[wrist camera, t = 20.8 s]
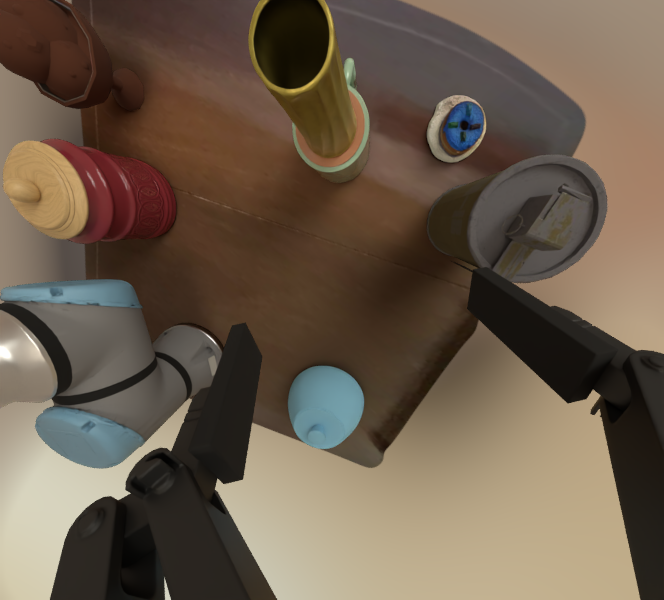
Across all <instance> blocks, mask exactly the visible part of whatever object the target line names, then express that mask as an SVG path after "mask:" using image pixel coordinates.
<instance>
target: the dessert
mask: <svg viewBox="0 0 664 600" xmlns="http://www.w3.org/2000/svg"><path fill="white" fill-rule="evenodd" d="M485 130H486V119H485V114H484V111H483V109H482V107H481V106H480V105H479V104H478V103H477V102H476V101H475V100H473V99H471V98H470V97H467V96H462V95H454V96H451V97H448V98H446V99H445V100H443V101H441V102H440V103H439V104H438V105H437V106H436V109H435V113H434V116H433V117H432V119H431V121H430V123H429V125H428V130H427V140H428V143H429V145H430V148H431V150H432V153H433V154H434V156H435V157H436V158H438V159H440V160H442V161H444V162H449V163H450V162H451V163H452V162H458V161H460V160H462V159H464V158H466V157H468V156H469V155H470V154H471V153H472V152H473V151H474V150H475V149H476V148H477V147H478V146H479V144H480V143H481V141H482V139H483V136H484V134H485Z"/></svg>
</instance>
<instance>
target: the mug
mask: <svg viewBox="0 0 664 600" xmlns="http://www.w3.org/2000/svg"><path fill="white" fill-rule="evenodd" d="M343 69H344V74H345V78H346V82H347V87H348V91H349V96H350V100H351V104H352V107H353V110H354V113H355V116H356V122H357V127H356V134H355V137H354V140H353V142H352V144H351V145H350V147H349V148H348V149H347V150H346V151H345V152H344V153H342V154H341V155H339V156H336V157H332V158H323V157H320V156H318V155H317V154H315V153H314V152H313V151H311V149H310V148H309V146H308V145H307V143H306V142H305V139H304V137H303V136H302V134H301V133H300V132H299V130H298V129H297V127H296V126H295V124H294V123H293V129H292V131H293V139H294V143H295V146H296V149H297V151H298V153H299V155H300V156H301V158H302V159H303V160H304V161H305V162H306V163H307V164H308V165H309V166H310V167H311V168H313V169H314V170H315V171H316V172H317V173H318V174H319V175H321V176H322V177H323V178H324V179H326V180H328V181H331V182H335V183H343V182H347V181H349V180H351V179H353V178H355V177H356V176H357V175H358V174H359V173H360V172H361V171H362V170H363V168H364V167H365V165H366V163H367V160H368V157H369V152H370V130H369V115H368V111H367V107H366V105H365V102H364V101H363V99H362V97H361V96H360V94H359V93H358V92H357V91H356V88H357V83H356V73H355V65H354V61H353V59H352V58H347V59H346V60H345V62H344V66H343Z"/></svg>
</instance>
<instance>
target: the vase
mask: <svg viewBox="0 0 664 600" xmlns="http://www.w3.org/2000/svg"><path fill="white" fill-rule="evenodd" d="M248 40H249V51H250V56H251V60H252V63H253V66H254V68H255V71H256V72H257V74H258V75H259V77H260V78H261V80H262V81H263V82H264V84H265V86H266V87H267V89H268V90H269V91H270V92H271V94H272V95H273V96H274V97H275V98H276V100H277V101H278V102H279V103H280V105H281V106H282V107H283V108H284V110H285V111H286V112H287V114H288V115H289V117H290V118H291V120H292V121H293V123H294V124H295V126H296V127H297V129H298V130H299V132H300V133H301V134H302V136H303V137H304V139H305V142H306V143H307V145H308V146H309V148H310V149H311V151H313V152H314V153H315V154H317V155H318V156H320V157H323V158H332V157H336V156H339V155H341V154H342V153H344V152H345V151H346V150H347V149H348V148H349V147H350V145H351V144H352V142H353V140H354V137H355V134H356V127H357V122H356V116H355V113H354V110H353V107H352V104H351V100H350V96H349V91H348V87H347V82H346V78H345V74H344V69H343V65H342V61H341V57H340V53H339V48H338V43H337V38H336V33H335V28H334V22H333V18H332V16H331V13H330V10H329V8H328V6H327V4H326V3H325V1H324V0H261V1H260V2H259V3H258V5H257V7H256V9H255V11H254V14H253V17H252V21H251V25H250V30H249V38H248Z"/></svg>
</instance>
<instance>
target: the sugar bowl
mask: <svg viewBox="0 0 664 600" xmlns="http://www.w3.org/2000/svg"><path fill="white" fill-rule="evenodd" d="M363 408H364V396H363V392H362V390H361V388H360V386H359V384H358V383H357V382H356V380H355V379H354V378H353V377H352V376H350V375H349V374H348V373H346V372H344V371H343V370H340V369H338V368H335V367H331V366H314V367H311V368H308V369H306V370H304V371H303V372H301V373H300V374H299V375H298V376H297V377H296V378H295V380H294V381H293V383H292V386H291V388H290V392H289V397H288V411H289V416H290V420H291V423H292V426H293V428H294V430H295V432H296V434H297V436H298V437H299V438H300V439H301V440H302V441H303V442H304V443H306V444H308V445H310V446H312V447H315V448H320V449H328V448H332V447H335V446H336V445H338V444H340V443H341V442H342V441H343V440H345V439H346V438H347V437H348V436H349V435H350V434H351V433H352V432H353V431H354V429H355V428H356V426H357V425H358V423H359V421H360V418H361V416H362V413H363Z"/></svg>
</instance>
